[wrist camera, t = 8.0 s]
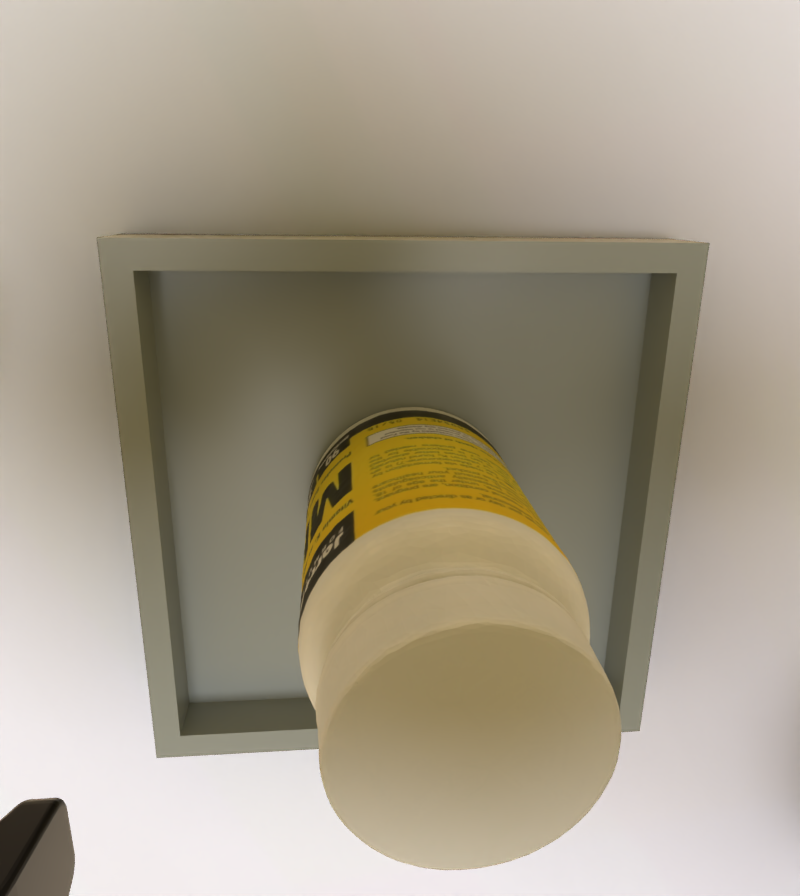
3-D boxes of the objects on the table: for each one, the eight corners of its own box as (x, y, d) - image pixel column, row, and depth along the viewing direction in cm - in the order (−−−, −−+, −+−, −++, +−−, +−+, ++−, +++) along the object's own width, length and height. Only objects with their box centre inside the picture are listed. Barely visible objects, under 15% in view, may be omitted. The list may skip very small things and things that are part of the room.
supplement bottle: (312, 396, 16) (297, 583, 8) (518, 408, 17) (689, 594, 9) (302, 587, 18) (282, 900, 10) (492, 592, 18) (619, 893, 10)
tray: (669, 238, 16) (709, 243, 15) (613, 686, 20) (639, 731, 19) (122, 233, 15) (96, 237, 14) (172, 708, 19) (156, 757, 17)
